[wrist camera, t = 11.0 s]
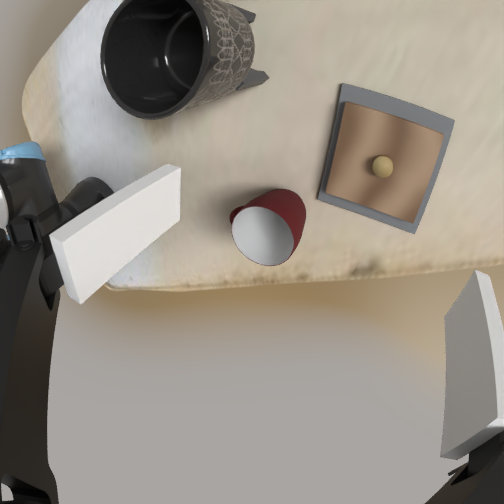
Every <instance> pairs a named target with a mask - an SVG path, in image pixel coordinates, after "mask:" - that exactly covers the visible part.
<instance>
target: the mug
mask: <svg viewBox="0 0 504 504" xmlns="http://www.w3.org/2000/svg"><path fill="white" fill-rule="evenodd" d="M305 220H306V209H305V205H304V203H303V201H302V199H301V198H300V197H299V195H298V194H296V193H295V192H293V191H290V190H286V189H276V190H272V191H270V192H267V193H265V194H263V195H261V196H259V197H257V198H255V199H253V200H251V201H250V202H249V203H247V204H246V205H245V206H241V207H238V208H236V209H234V210H233V211H232V212H231V214H230V223H231V224H232V236H233V240H234V242H235V244H236V246H237V247H238V249H239V250H240V251H241V253H242V254H243V255H245V256H246V257H247V258H248V259H250V260H251V261H253V262H255V263H258V264H261V265H265V266H276V265H280V264H282V263H284V262H285V261H287V260H288V259H289V258H290V256H291V255H292V254H293V252H294V251H295V249H296V247H297V246H298V244H299V242H300V239H301V236H302V232H303V228H304V224H305Z"/></svg>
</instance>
